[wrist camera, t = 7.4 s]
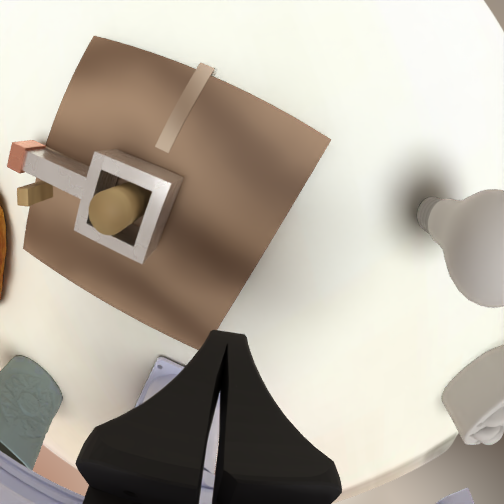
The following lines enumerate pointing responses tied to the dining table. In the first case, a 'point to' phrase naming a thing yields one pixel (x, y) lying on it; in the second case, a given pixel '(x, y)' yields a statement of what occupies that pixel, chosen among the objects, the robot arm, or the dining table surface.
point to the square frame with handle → (99, 179)
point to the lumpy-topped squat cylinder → (478, 399)
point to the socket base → (190, 192)
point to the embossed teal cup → (26, 409)
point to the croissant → (2, 246)
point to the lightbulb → (470, 242)
